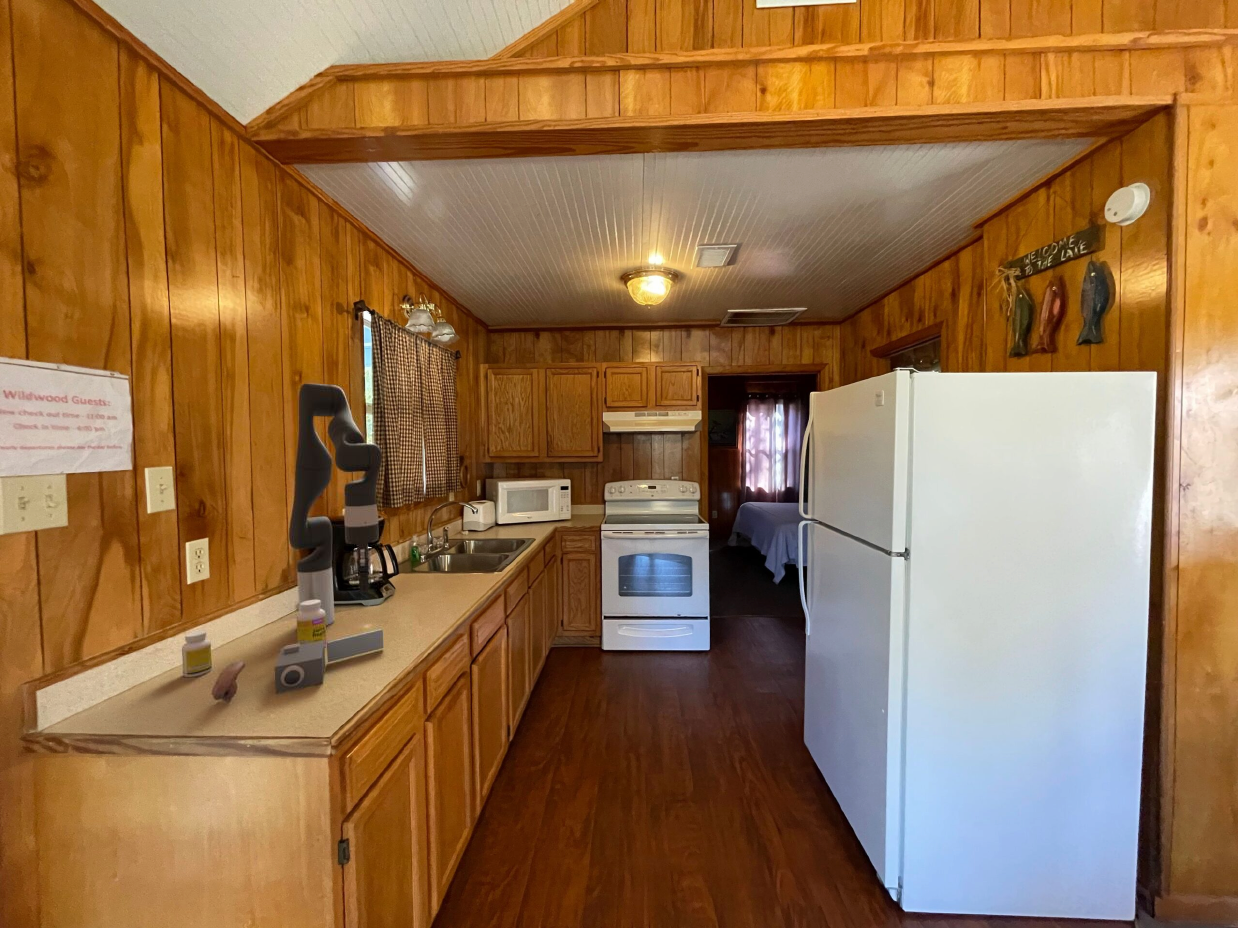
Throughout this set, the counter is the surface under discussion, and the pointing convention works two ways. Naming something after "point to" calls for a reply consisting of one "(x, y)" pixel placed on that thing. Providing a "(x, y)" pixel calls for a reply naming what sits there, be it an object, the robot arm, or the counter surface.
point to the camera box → (300, 666)
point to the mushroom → (227, 682)
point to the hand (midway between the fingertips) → (364, 590)
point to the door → (354, 645)
